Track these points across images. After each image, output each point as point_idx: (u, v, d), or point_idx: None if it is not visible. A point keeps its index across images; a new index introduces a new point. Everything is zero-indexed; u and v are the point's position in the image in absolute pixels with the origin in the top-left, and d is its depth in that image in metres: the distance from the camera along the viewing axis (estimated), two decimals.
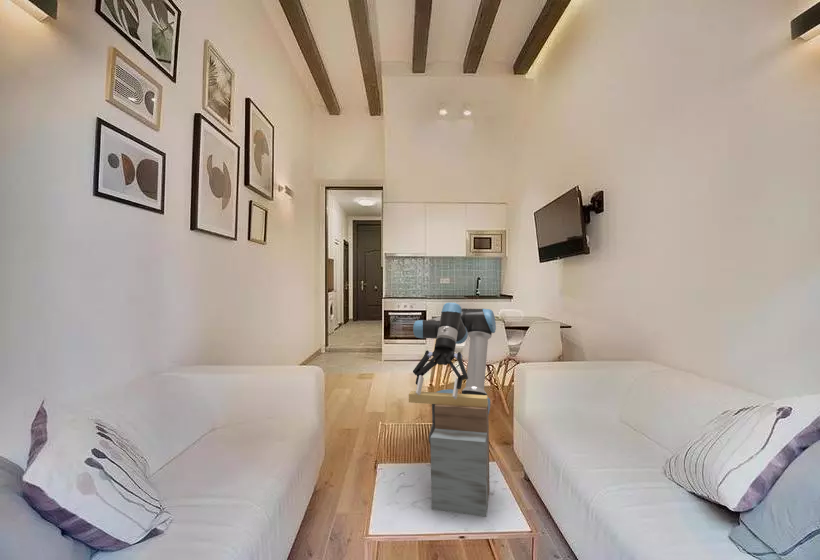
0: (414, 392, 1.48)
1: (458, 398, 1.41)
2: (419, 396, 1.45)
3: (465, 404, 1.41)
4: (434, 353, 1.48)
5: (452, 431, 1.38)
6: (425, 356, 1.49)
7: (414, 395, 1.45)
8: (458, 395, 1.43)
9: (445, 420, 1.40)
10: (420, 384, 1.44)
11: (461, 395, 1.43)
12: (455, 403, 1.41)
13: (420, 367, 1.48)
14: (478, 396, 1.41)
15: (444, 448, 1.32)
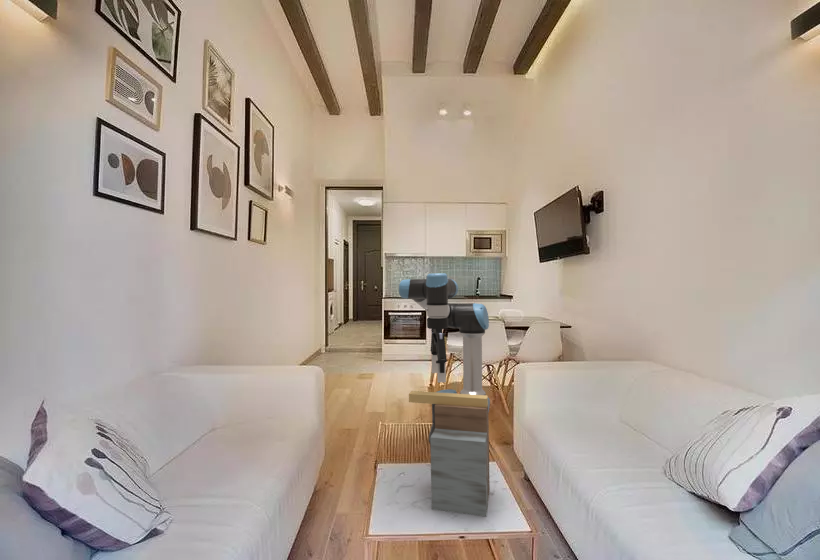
0: (414, 392, 1.48)
1: (458, 398, 1.41)
2: (419, 396, 1.45)
3: (465, 404, 1.40)
4: (433, 332, 1.45)
5: (452, 431, 1.38)
6: (431, 335, 1.48)
7: (414, 395, 1.45)
8: (458, 395, 1.43)
9: (445, 420, 1.40)
10: (434, 363, 1.48)
11: (461, 395, 1.43)
12: (455, 403, 1.41)
13: None
14: (478, 396, 1.41)
15: (444, 448, 1.32)
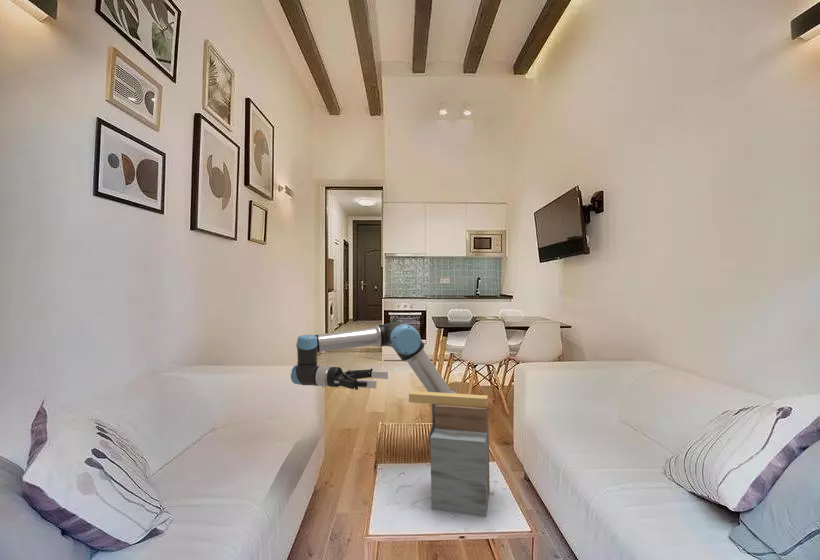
0: (414, 392, 1.48)
1: (458, 398, 1.41)
2: (419, 396, 1.45)
3: (465, 404, 1.40)
4: None
5: (452, 431, 1.38)
6: None
7: (414, 395, 1.45)
8: (458, 395, 1.43)
9: (445, 420, 1.40)
10: (379, 376, 1.57)
11: (461, 395, 1.43)
12: (455, 403, 1.41)
13: None
14: (478, 396, 1.41)
15: (444, 448, 1.32)
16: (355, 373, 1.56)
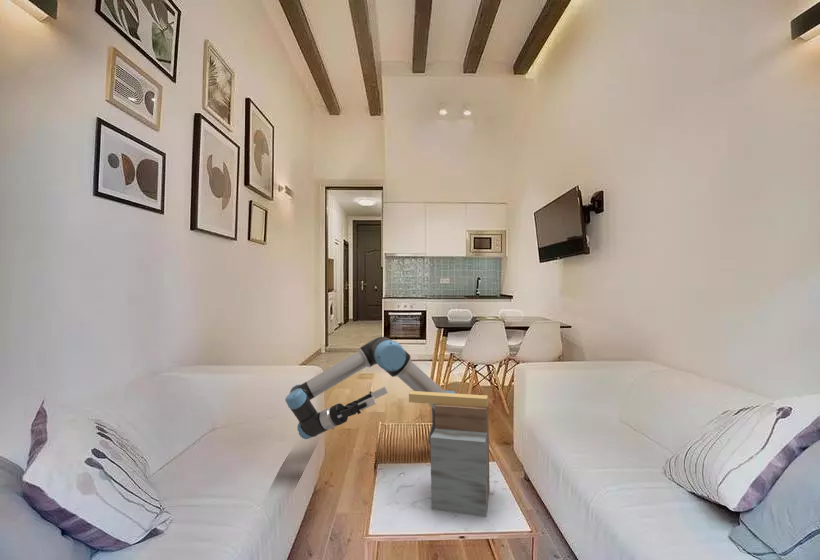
0: (414, 392, 1.48)
1: (458, 398, 1.41)
2: (419, 396, 1.45)
3: (465, 404, 1.40)
4: None
5: (452, 431, 1.38)
6: None
7: (414, 395, 1.45)
8: (458, 395, 1.43)
9: (445, 420, 1.40)
10: (379, 394, 1.58)
11: (461, 395, 1.43)
12: (455, 403, 1.41)
13: None
14: (478, 396, 1.41)
15: (444, 448, 1.32)
16: (356, 402, 1.56)
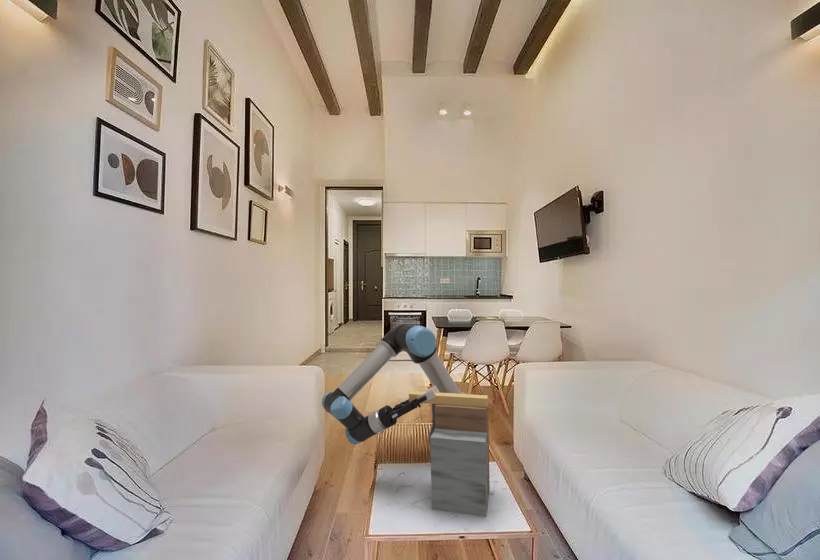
0: (414, 392, 1.48)
1: (458, 398, 1.41)
2: None
3: (465, 404, 1.40)
4: None
5: (452, 431, 1.38)
6: None
7: (414, 395, 1.45)
8: (458, 395, 1.43)
9: (445, 420, 1.40)
10: None
11: (461, 395, 1.43)
12: (455, 403, 1.41)
13: None
14: (478, 396, 1.41)
15: (444, 448, 1.32)
16: (404, 403, 1.50)
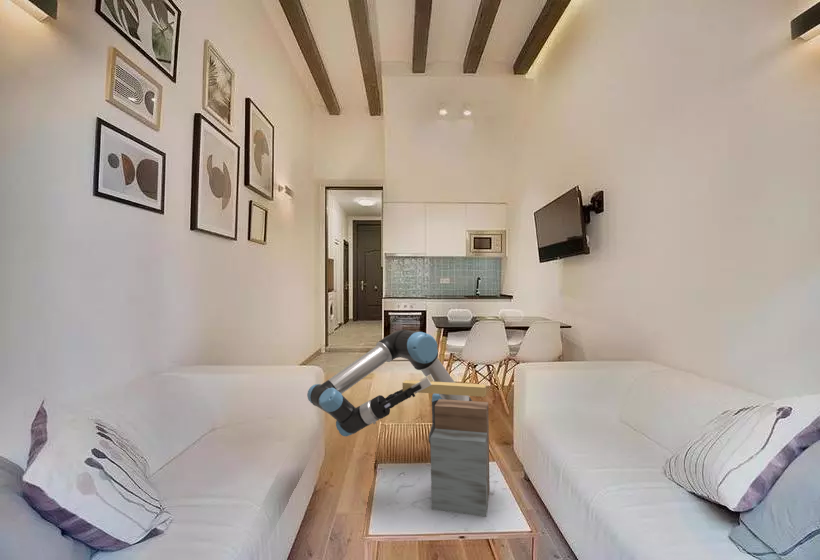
0: (408, 381, 1.40)
1: (455, 387, 1.33)
2: None
3: (462, 393, 1.33)
4: None
5: (452, 431, 1.38)
6: None
7: (408, 384, 1.37)
8: (455, 384, 1.35)
9: (445, 420, 1.40)
10: None
11: (458, 384, 1.35)
12: (451, 392, 1.34)
13: None
14: (476, 385, 1.34)
15: (444, 448, 1.32)
16: (398, 393, 1.42)
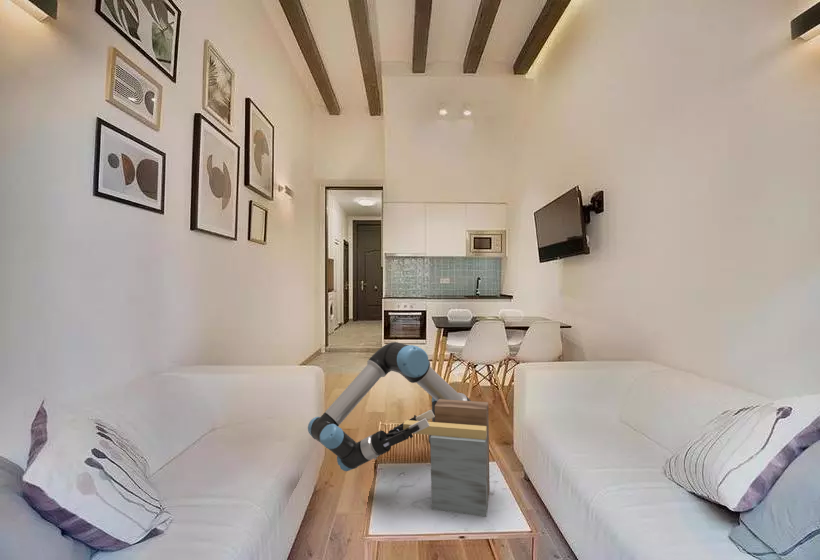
0: (409, 421, 1.40)
1: (455, 429, 1.33)
2: None
3: (463, 436, 1.33)
4: None
5: None
6: None
7: (409, 425, 1.37)
8: (455, 426, 1.35)
9: (445, 420, 1.40)
10: (425, 418, 1.42)
11: (458, 426, 1.35)
12: (452, 434, 1.34)
13: None
14: (476, 427, 1.34)
15: (444, 448, 1.32)
16: (399, 428, 1.42)
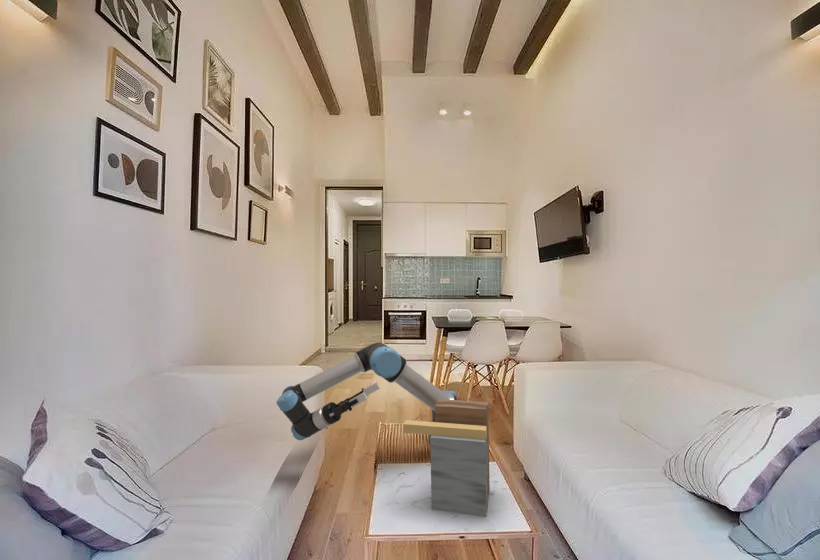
0: (409, 421, 1.40)
1: (455, 429, 1.33)
2: (414, 426, 1.37)
3: (463, 436, 1.33)
4: None
5: None
6: None
7: (409, 425, 1.37)
8: (455, 426, 1.35)
9: (445, 420, 1.40)
10: (371, 390, 1.56)
11: (458, 426, 1.35)
12: (452, 434, 1.34)
13: None
14: (476, 427, 1.34)
15: (444, 448, 1.32)
16: (348, 399, 1.55)
